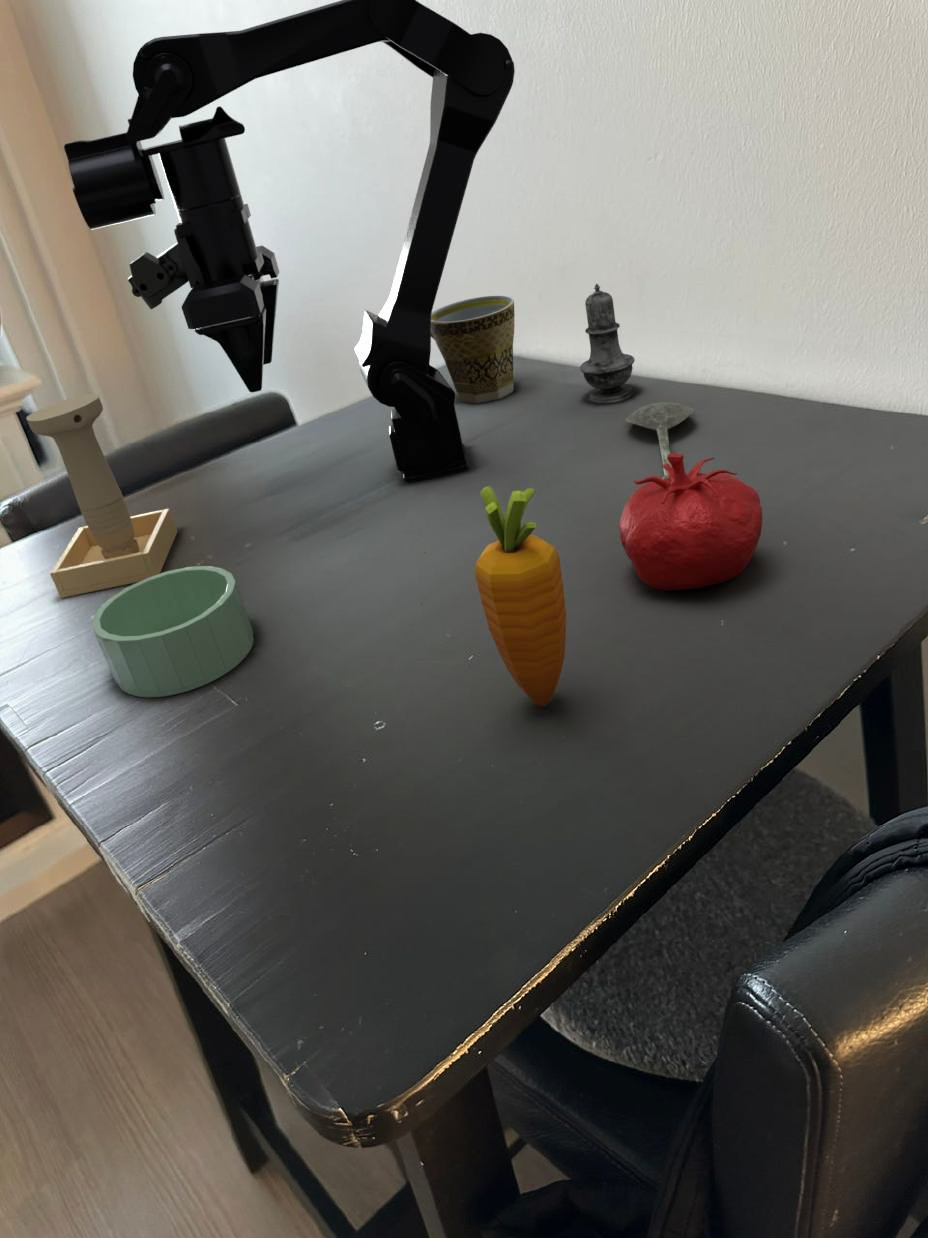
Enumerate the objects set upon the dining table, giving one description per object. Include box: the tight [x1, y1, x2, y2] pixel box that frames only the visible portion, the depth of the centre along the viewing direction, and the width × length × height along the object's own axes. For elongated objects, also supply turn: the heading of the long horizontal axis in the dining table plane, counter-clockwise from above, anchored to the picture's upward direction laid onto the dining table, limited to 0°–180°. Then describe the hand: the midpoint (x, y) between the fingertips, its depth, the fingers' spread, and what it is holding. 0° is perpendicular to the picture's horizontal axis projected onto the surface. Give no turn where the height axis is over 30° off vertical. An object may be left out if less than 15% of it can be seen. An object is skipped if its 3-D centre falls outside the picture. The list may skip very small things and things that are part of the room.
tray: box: [49, 508, 178, 599], centre depth 97 cm, size 9×10×3 cm
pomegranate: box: [618, 452, 763, 592], centre depth 73 cm, size 10×10×9 cm
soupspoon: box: [625, 401, 695, 479], centre depth 94 cm, size 22×3×7 cm
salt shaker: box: [579, 283, 637, 405], centre depth 109 cm, size 6×6×12 cm
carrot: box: [474, 485, 567, 708], centre depth 61 cm, size 5×5×15 cm
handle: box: [26, 393, 139, 559], centre depth 94 cm, size 5×6×15 cm
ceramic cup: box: [431, 295, 516, 404], centre depth 119 cm, size 13×10×10 cm
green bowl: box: [91, 565, 255, 698], centre depth 78 cm, size 11×11×5 cm
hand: (261, 376), depth 96 cm, fingers open, 9 cm apart
